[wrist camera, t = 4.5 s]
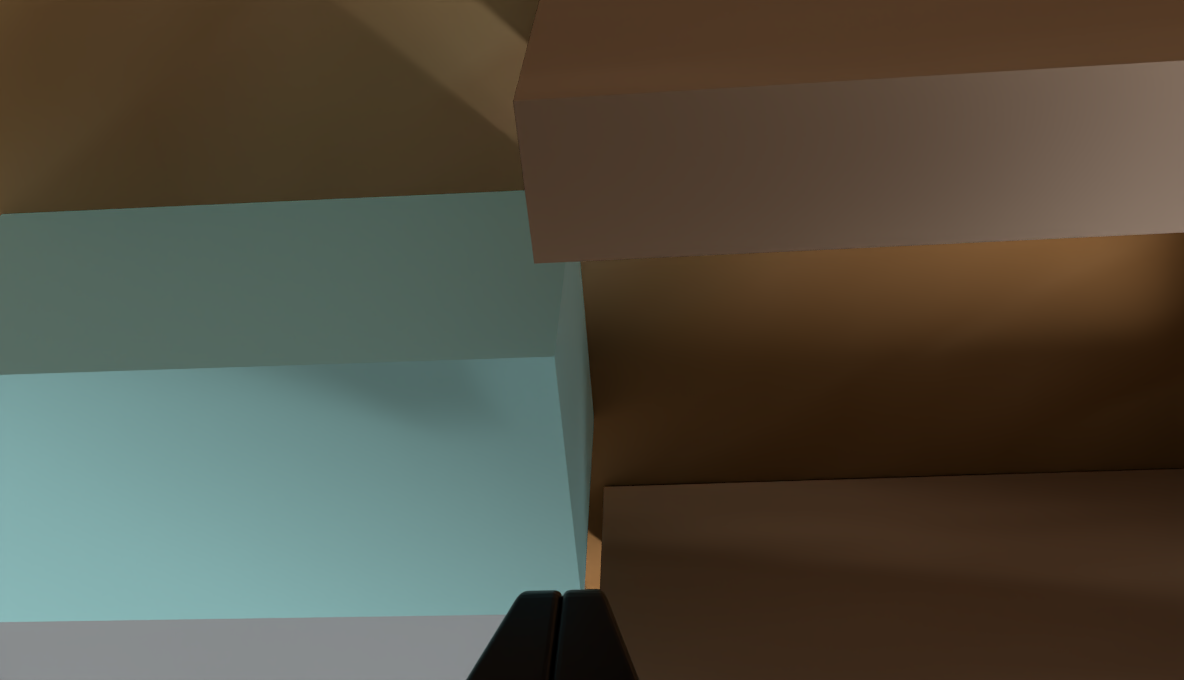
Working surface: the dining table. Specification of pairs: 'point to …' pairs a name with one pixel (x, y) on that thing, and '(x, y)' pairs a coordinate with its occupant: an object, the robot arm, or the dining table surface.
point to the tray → (247, 648)
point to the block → (289, 411)
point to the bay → (862, 220)
